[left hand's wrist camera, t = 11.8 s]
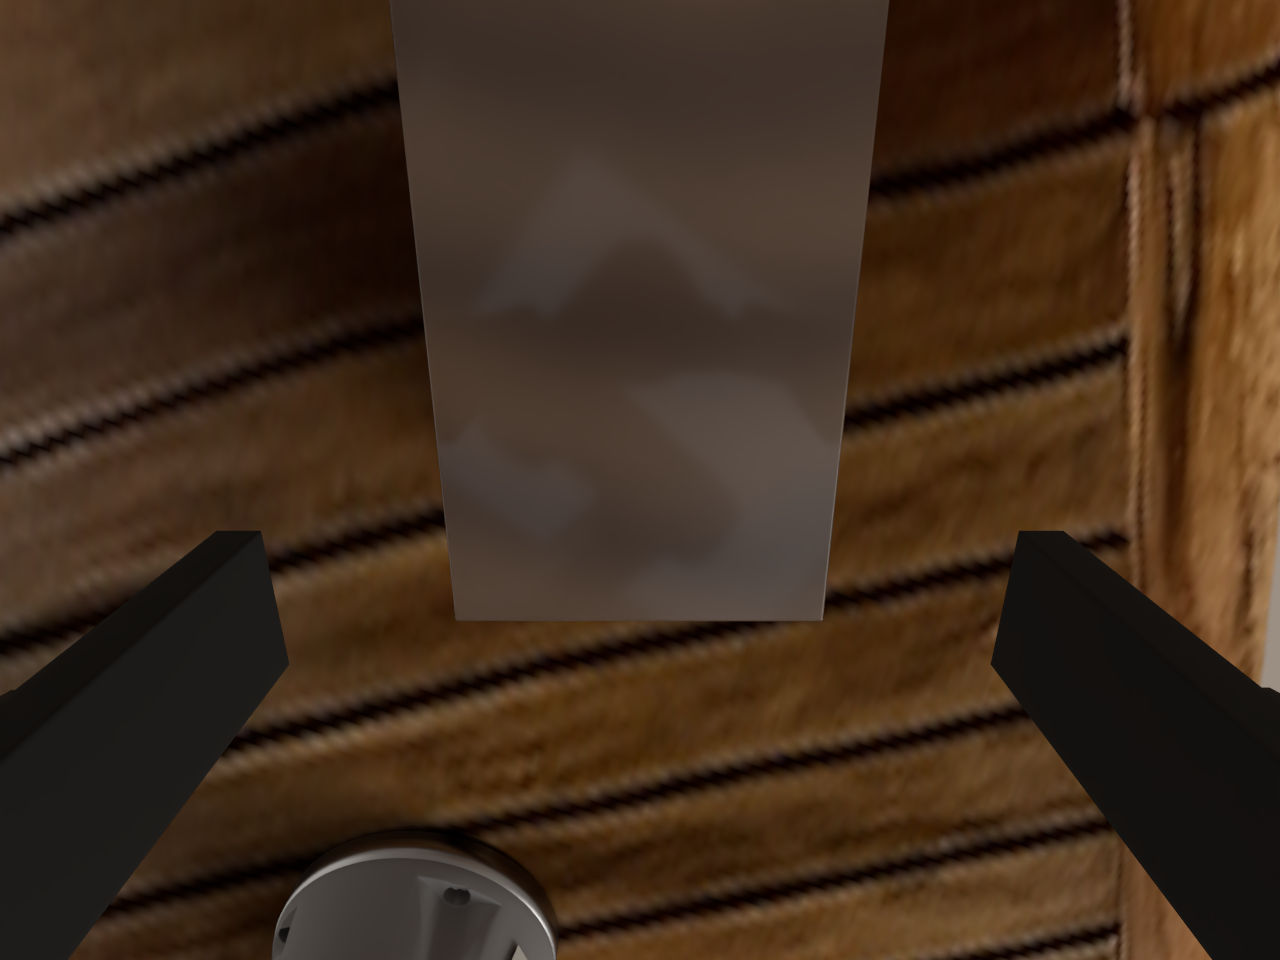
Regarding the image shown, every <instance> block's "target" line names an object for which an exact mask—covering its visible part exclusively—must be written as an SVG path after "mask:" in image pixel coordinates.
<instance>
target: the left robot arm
mask: <svg viewBox="0 0 1280 960" xmlns="http://www.w3.org/2000/svg"><path fill="white" fill-rule="evenodd" d="M288 665H289V661H288V656H287V651H286V647H285V642H284V637H283V633H282V628H281V623H280V618H279V614H278V609H277V604H276V600H275V595H274V590H273V585H272V581H271V576H270V571H269V567H268V562H267V557H266V553H265V548H264V543H263V538H262V534H261V531H216V532H215V533H213V534H212V535H211V536H210V537H208V538H207V539H206V540H205V541H203V542H202V543H201V544H199V545H198V546H197V547H196V548H194V549H193V550H192V551H191V552H189V553H188V554H187V555H186V556H184V557H183V558H182V559H180V560H179V561H178V562H177V563H175V564H174V565H173V566H172V567H170V568H169V569H168V570H167V571H165V572H164V573H163V574H162V575H160V576H159V577H158V578H156V579H155V580H154V581H153V582H151V583H150V584H149V585H148V586H146V587H145V588H144V589H143V590H141V591H140V592H139V593H137V594H136V595H135V596H134V597H132V598H131V599H130V600H129V601H127V602H126V603H125V604H124V605H122V606H121V607H120V608H118V609H117V610H116V611H115V612H113V613H112V614H111V615H110V616H108V617H107V618H106V619H105V620H103V621H102V622H101V623H100V624H98V625H97V626H96V627H94V628H93V629H92V630H91V631H89V632H88V633H87V634H86V635H84V636H83V637H82V638H81V639H79V640H78V641H77V642H75V643H74V644H73V645H72V646H70V647H69V648H68V649H67V650H65V651H64V652H63V653H62V654H60V655H59V656H58V657H57V658H55V659H54V660H53V661H51V662H50V663H49V664H48V665H46V666H45V667H44V668H43V669H41V670H40V671H39V672H38V673H36V674H35V675H34V676H32V677H31V678H30V679H29V680H27V681H26V682H25V683H24V684H22V685H21V686H20V687H19V688H17V689H16V690H11V691H9V692H7V693H5V694H3V695H1V696H0V960H68V959H69V957H70V956H71V955H72V953H73V952H74V951H75V949H76V948H77V947H78V945H79V944H80V943H81V941H82V940H83V939H84V937H85V936H86V935H87V933H88V932H89V931H90V929H91V928H92V927H93V925H94V924H95V923H96V921H97V920H98V919H99V917H100V916H101V915H102V913H103V912H104V911H105V909H106V908H107V907H108V905H109V904H110V903H111V901H112V900H113V899H114V897H115V896H116V895H117V893H118V892H119V891H120V889H121V888H122V887H123V885H124V884H125V883H126V881H127V880H128V879H129V877H130V876H131V875H132V873H133V872H134V871H135V869H136V868H137V867H138V865H139V864H140V863H141V861H142V860H143V859H144V857H145V856H146V855H147V853H148V852H149V851H150V849H151V848H152V847H153V845H154V844H155V843H156V841H157V840H158V839H159V837H160V836H161V835H162V833H163V832H164V831H165V829H166V828H167V827H168V825H169V824H170V823H171V821H172V820H173V819H174V817H175V816H176V815H177V813H178V812H179V811H180V809H181V808H182V807H183V805H184V804H185V803H186V801H187V800H188V799H189V797H190V796H191V795H192V793H193V792H194V791H195V789H196V788H197V787H198V785H199V784H200V783H201V781H202V780H203V779H204V777H205V776H206V775H207V773H208V772H209V771H210V769H211V768H212V767H213V765H214V764H215V763H216V761H217V760H218V759H219V757H220V756H221V755H222V753H223V752H224V751H225V749H226V748H227V747H228V745H229V744H230V743H231V741H232V740H233V739H234V737H235V736H236V735H237V733H238V732H239V731H240V729H241V728H242V727H243V725H244V724H245V723H246V721H247V720H248V719H249V717H250V716H251V715H252V713H253V712H254V711H255V709H256V708H257V707H258V705H259V704H260V703H261V701H262V700H263V699H264V697H265V696H266V695H267V693H268V692H269V691H270V689H271V688H272V687H273V685H274V684H275V683H276V681H277V680H278V679H279V677H280V676H281V675H282V673H283V672H284V671H285V669H286V668H287V667H288ZM991 665H992V667H993V668H994V669H995V671H996V672H997V673H998V675H999V676H1000V677H1001V679H1002V680H1003V681H1004V683H1005V684H1006V685H1007V687H1008V688H1009V689H1010V691H1011V692H1012V693H1013V695H1014V696H1015V697H1016V699H1017V700H1018V701H1019V703H1020V704H1021V705H1022V707H1023V708H1024V709H1025V711H1026V712H1027V713H1028V715H1029V716H1030V717H1031V719H1032V720H1033V721H1034V723H1035V724H1036V725H1037V727H1038V728H1039V729H1040V731H1041V732H1042V733H1043V735H1044V736H1045V737H1046V739H1047V740H1048V741H1049V743H1050V744H1051V745H1052V747H1053V748H1054V749H1055V751H1056V752H1057V753H1058V755H1059V756H1060V757H1061V759H1062V760H1063V761H1064V763H1065V764H1066V765H1067V767H1068V768H1069V769H1070V771H1071V772H1072V773H1073V775H1074V776H1075V777H1076V779H1077V780H1078V781H1079V783H1080V784H1081V785H1082V787H1083V788H1084V789H1085V791H1086V792H1087V793H1088V795H1089V796H1090V797H1091V799H1092V800H1093V801H1094V803H1095V804H1096V805H1097V807H1098V808H1099V809H1100V811H1101V812H1102V813H1103V815H1104V816H1105V817H1106V819H1107V820H1108V821H1109V823H1110V824H1111V825H1112V827H1113V828H1114V829H1115V831H1116V832H1117V833H1118V835H1119V836H1120V837H1121V839H1122V840H1123V841H1124V843H1125V844H1126V845H1127V847H1128V848H1129V849H1130V851H1131V852H1132V853H1133V855H1134V856H1135V857H1136V859H1137V860H1138V861H1139V863H1140V864H1141V865H1142V867H1143V868H1144V869H1145V871H1146V872H1147V873H1148V875H1149V876H1150V877H1151V879H1152V880H1153V881H1154V883H1155V884H1156V885H1157V887H1158V888H1159V889H1160V891H1161V892H1162V893H1163V895H1164V896H1165V897H1166V899H1167V900H1168V901H1169V903H1170V904H1171V905H1172V907H1173V908H1174V909H1175V911H1176V912H1177V913H1178V915H1179V916H1180V917H1181V919H1182V920H1183V921H1184V923H1185V924H1186V925H1187V927H1188V928H1189V929H1190V931H1191V932H1192V933H1193V935H1194V936H1195V937H1196V939H1197V940H1198V941H1199V943H1200V944H1201V945H1202V947H1203V948H1204V949H1205V951H1206V952H1207V953H1208V955H1209V956H1210V957H1211V959H1212V960H1280V693H1279V692H1277V691H1275V690H1273V689H1271V688H1261V687H1260V686H1259V685H1258V684H1256V683H1255V682H1254V681H1253V680H1251V679H1250V678H1249V677H1248V676H1246V675H1245V674H1244V673H1242V672H1241V671H1240V670H1239V669H1237V668H1236V667H1235V666H1234V665H1232V664H1231V663H1230V662H1229V661H1227V660H1226V659H1225V658H1223V657H1222V656H1221V655H1220V654H1218V653H1217V652H1216V651H1215V650H1213V649H1212V648H1211V647H1210V646H1208V645H1207V644H1206V643H1205V642H1203V641H1202V640H1201V639H1199V638H1198V637H1197V636H1196V635H1194V634H1193V633H1192V632H1191V631H1189V630H1188V629H1187V628H1186V627H1184V626H1183V625H1182V624H1180V623H1179V622H1178V621H1177V620H1175V619H1174V618H1173V617H1172V616H1170V615H1169V614H1168V613H1167V612H1165V611H1164V610H1163V609H1162V608H1160V607H1159V606H1158V605H1156V604H1155V603H1154V602H1153V601H1151V600H1150V599H1149V598H1148V597H1146V596H1145V595H1144V594H1143V593H1141V592H1140V591H1139V590H1137V589H1136V588H1135V587H1134V586H1132V585H1131V584H1130V583H1129V582H1127V581H1126V580H1125V579H1124V578H1122V577H1121V576H1120V575H1118V574H1117V573H1116V572H1115V571H1113V570H1112V569H1111V568H1110V567H1108V566H1107V565H1106V564H1105V563H1103V562H1102V561H1101V560H1100V559H1098V558H1097V557H1096V556H1094V555H1093V554H1092V553H1091V552H1089V551H1088V550H1087V549H1086V548H1084V547H1083V546H1082V545H1081V544H1079V543H1078V542H1077V541H1075V540H1074V539H1073V538H1072V537H1070V536H1069V535H1068V534H1067V533H1065V532H1064V531H1019V534H1018V538H1017V543H1016V548H1015V552H1014V557H1013V562H1012V567H1011V571H1010V576H1009V581H1008V585H1007V590H1006V595H1005V600H1004V604H1003V609H1002V614H1001V618H1000V623H999V628H998V633H997V637H996V642H995V647H994V651H993V656H992V661H991ZM558 940H559V932H558V924H557V919H556V915H555V912H554V909H553V907H552V905H551V903H550V901H549V899H548V897H547V896H546V894H545V892H544V891H543V890H542V888H541V887H540V886H539V885H538V883H537V882H536V881H535V880H534V879H533V878H532V877H531V876H530V875H529V874H528V873H527V872H526V871H524V870H523V869H522V868H521V867H520V866H518V865H517V864H516V863H514V862H513V861H511V860H510V859H508V858H507V857H505V856H503V855H502V854H500V853H498V852H496V851H494V850H492V849H490V848H488V847H486V846H483V845H481V844H478V843H476V842H473V841H470V840H467V839H464V838H460V837H456V836H452V835H448V834H442V833H436V832H427V831H390V832H383V833H376V834H371V835H367V836H363V837H360V838H356V839H353V840H350V841H348V842H345V843H343V844H341V845H339V846H337V847H335V848H333V849H331V850H329V851H328V852H326V853H325V854H323V855H322V856H320V857H319V858H318V859H317V860H315V861H314V862H313V863H312V864H311V865H310V866H309V867H308V868H307V869H306V870H305V871H304V873H303V874H302V875H301V877H300V878H299V880H298V881H297V883H296V885H295V887H294V889H293V891H292V893H291V895H290V897H289V899H288V901H287V903H286V905H285V907H284V909H283V911H282V913H281V915H280V917H279V920H278V923H277V926H276V931H275V936H274V941H273V948H272V960H556V958H557V949H558Z"/></svg>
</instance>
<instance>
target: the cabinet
mask: <svg viewBox="0 0 1280 960" xmlns="http://www.w3.org/2000/svg"><path fill="white" fill-rule="evenodd" d="M389 6H390V15H391V24H392V34H393V43H394V52H395V61H396V71H397V80H398V89H399V99H400V108H401V117H402V126H403V136H404V145H405V154H406V163H407V173H408V182H409V191H410V201H411V210H412V219H413V228H414V238H415V247H416V256H417V265H418V275H419V284H420V293H421V303H422V312H423V321H424V330H425V340H426V349H427V358H428V368H429V377H430V386H431V395H432V405H433V414H434V423H435V432H436V442H437V451H438V460H439V470H440V479H441V488H442V497H443V507H444V516H445V525H446V534H447V544H448V553H449V562H450V572H451V581H452V590H453V599H454V609H455V618H456V620H457V621H822V620H823V613H824V604H825V594H826V585H827V576H828V566H829V557H830V548H831V538H832V529H833V520H834V510H835V501H836V492H837V483H838V473H839V464H840V455H841V445H842V436H843V427H844V417H845V408H846V399H847V389H848V380H849V371H850V361H851V352H852V343H853V333H854V324H855V315H856V306H857V296H858V287H859V278H860V268H861V259H862V250H863V240H864V231H865V222H866V212H867V203H868V194H869V184H870V175H871V166H872V156H873V147H874V138H875V129H876V119H877V110H878V101H879V91H880V82H881V73H882V63H883V54H884V45H885V35H886V26H887V17H888V7H889V0H389Z"/></svg>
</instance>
